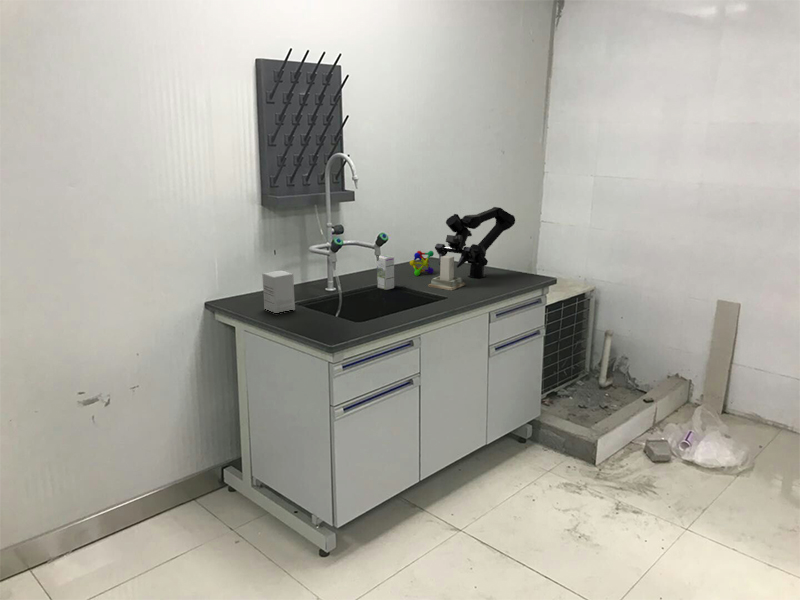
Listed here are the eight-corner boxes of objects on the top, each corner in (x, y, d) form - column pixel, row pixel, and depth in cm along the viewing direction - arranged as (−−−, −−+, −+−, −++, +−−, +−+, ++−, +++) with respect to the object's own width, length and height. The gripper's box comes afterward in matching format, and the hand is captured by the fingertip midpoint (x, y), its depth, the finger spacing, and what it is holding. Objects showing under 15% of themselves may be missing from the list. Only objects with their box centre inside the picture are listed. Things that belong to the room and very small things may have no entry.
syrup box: (394, 288, 284) (394, 256, 280) (385, 290, 280) (385, 258, 276) (385, 285, 288) (385, 254, 284) (376, 287, 284) (376, 256, 280)
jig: (441, 281, 297) (441, 274, 296) (465, 284, 290) (465, 277, 289) (428, 286, 287) (428, 279, 286) (452, 290, 280) (452, 282, 279)
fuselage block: (444, 282, 291) (445, 255, 288) (453, 283, 289) (454, 256, 285) (440, 283, 288) (440, 257, 284) (448, 285, 285) (449, 258, 282)
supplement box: (283, 305, 255) (281, 269, 251) (295, 310, 248) (294, 273, 244) (263, 309, 249) (261, 272, 245) (275, 314, 242) (273, 276, 239)
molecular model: (416, 276, 306) (417, 253, 303) (408, 274, 311) (408, 250, 308) (435, 274, 312) (436, 251, 309) (426, 271, 318) (427, 248, 315)
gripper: (437, 226, 291) (424, 253, 286) (473, 229, 282) (461, 258, 276) (445, 240, 300) (433, 267, 294) (480, 244, 290) (468, 272, 284)
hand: (448, 266), depth 287 cm, fingers open, 9 cm apart
